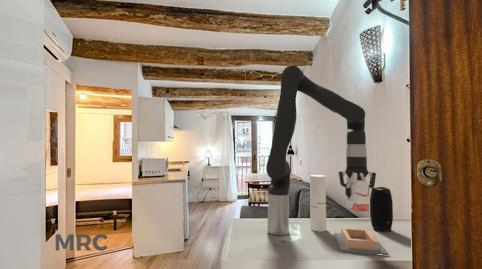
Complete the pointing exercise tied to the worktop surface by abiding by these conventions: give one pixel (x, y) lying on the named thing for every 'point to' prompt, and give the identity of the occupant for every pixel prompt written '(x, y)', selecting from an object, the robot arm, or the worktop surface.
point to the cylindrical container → (318, 202)
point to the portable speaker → (381, 209)
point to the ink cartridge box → (358, 195)
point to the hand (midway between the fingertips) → (357, 197)
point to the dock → (358, 242)
